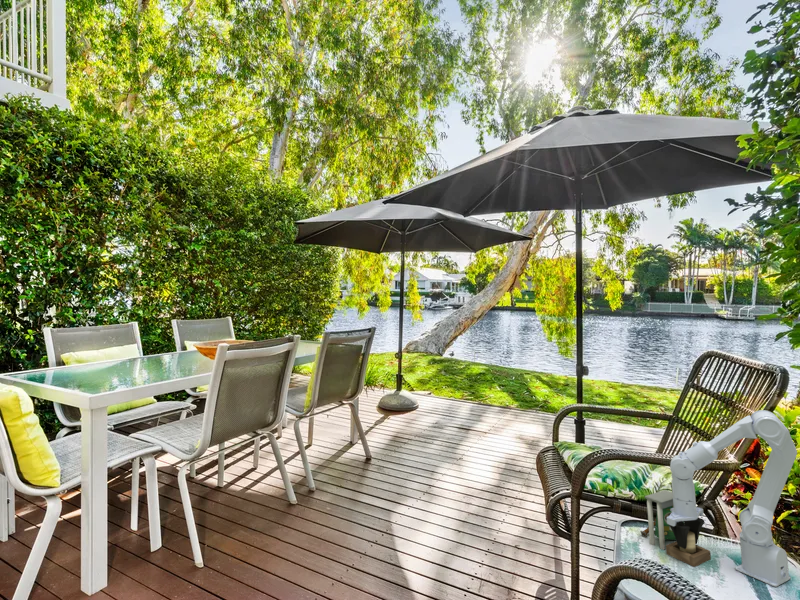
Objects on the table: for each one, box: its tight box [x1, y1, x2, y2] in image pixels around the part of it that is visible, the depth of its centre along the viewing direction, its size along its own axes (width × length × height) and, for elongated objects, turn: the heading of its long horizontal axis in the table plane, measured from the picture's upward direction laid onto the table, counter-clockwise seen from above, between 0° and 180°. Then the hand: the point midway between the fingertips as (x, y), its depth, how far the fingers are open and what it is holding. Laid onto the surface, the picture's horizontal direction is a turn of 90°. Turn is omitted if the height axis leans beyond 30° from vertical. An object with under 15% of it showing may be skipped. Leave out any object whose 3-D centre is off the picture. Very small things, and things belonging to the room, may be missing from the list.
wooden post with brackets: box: [640, 518, 656, 538], centre depth 141 cm, size 2×8×4 cm, turn 110°
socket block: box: [665, 540, 712, 568], centre depth 127 cm, size 8×8×2 cm
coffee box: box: [654, 506, 685, 541], centre depth 137 cm, size 8×3×13 cm, turn 96°
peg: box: [680, 531, 697, 555], centre depth 127 cm, size 4×4×7 cm
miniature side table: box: [644, 489, 673, 551], centre depth 135 cm, size 6×10×15 cm, turn 116°
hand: (687, 544), depth 127 cm, fingers open, 5 cm apart
